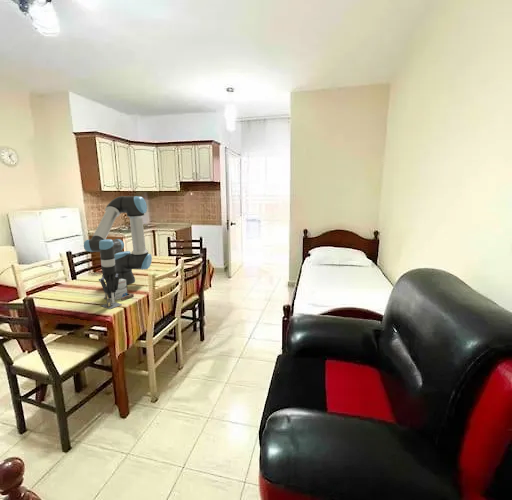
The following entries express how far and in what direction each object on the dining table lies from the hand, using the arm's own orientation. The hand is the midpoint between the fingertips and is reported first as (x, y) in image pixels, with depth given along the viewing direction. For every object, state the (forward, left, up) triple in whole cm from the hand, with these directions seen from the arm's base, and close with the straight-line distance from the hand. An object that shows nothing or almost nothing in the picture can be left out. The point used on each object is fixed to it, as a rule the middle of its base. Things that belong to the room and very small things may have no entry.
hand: (112, 302), depth 186 cm
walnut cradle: (-10, -8, -2) cm, 13 cm away
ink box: (-11, -8, -2) cm, 13 cm away
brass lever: (-2, -6, -1) cm, 7 cm away
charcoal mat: (+1, 0, -2) cm, 2 cm away
